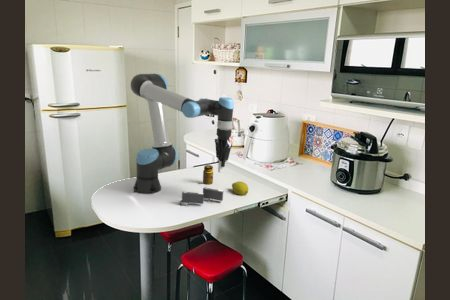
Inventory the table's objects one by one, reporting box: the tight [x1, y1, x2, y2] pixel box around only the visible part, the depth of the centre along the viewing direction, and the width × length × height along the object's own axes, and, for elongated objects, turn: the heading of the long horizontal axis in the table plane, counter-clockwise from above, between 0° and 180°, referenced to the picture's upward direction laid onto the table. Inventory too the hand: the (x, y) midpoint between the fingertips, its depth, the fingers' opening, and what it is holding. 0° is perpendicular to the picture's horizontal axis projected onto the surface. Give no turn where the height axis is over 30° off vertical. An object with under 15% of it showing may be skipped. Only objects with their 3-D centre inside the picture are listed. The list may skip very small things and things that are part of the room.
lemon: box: [231, 180, 249, 196], centre depth 184 cm, size 11×8×8 cm
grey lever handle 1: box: [179, 190, 204, 207], centre depth 165 cm, size 12×5×6 cm, turn 87°
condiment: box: [197, 164, 214, 186], centre depth 195 cm, size 7×8×12 cm
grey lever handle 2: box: [202, 187, 224, 202], centre depth 172 cm, size 12×5×6 cm, turn 72°
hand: (220, 171), depth 170 cm, fingers closed
